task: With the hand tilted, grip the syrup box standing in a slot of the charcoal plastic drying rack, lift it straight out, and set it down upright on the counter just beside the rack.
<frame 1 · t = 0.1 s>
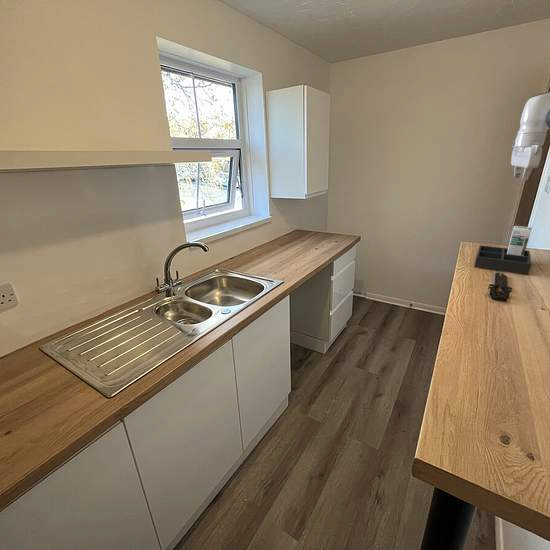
hand: (520, 178, 121), 33 cm above the table, tool pointing down, fingers open, 8 cm apart
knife: (498, 286, 106), on the table
rack: (500, 264, 124), on the table
syrup box: (513, 261, 125), resting on rack
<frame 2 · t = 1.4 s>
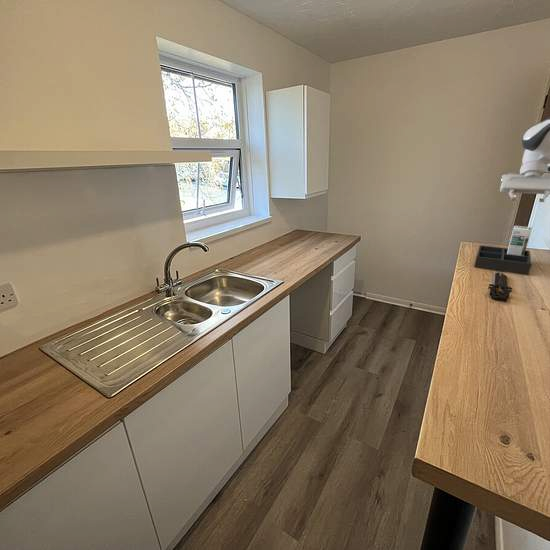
hand: (527, 200, 125), 24 cm above the table, tool tilted 45°, fingers open, 8 cm apart
nothing on the table moved.
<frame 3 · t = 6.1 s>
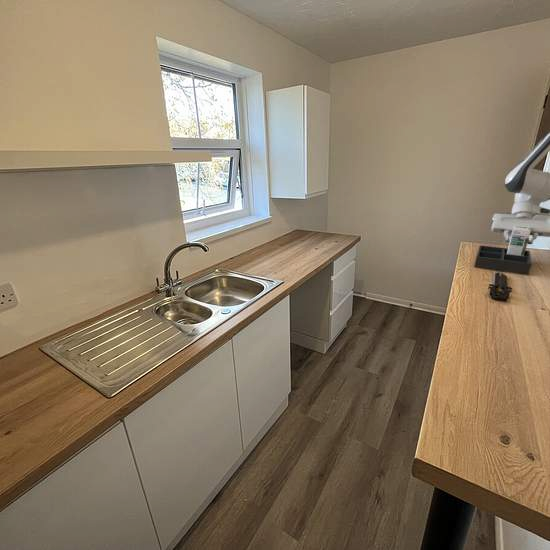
hand: (518, 242, 121), 9 cm above the table, tool tilted 45°, fingers closed on syrup box, 6 cm apart
syrup box: (513, 261, 125), resting on rack, touching gripper
everything else where it was.
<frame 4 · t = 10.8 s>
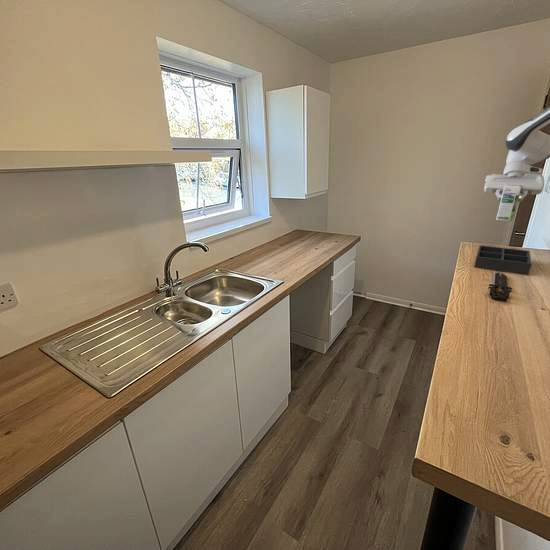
hand: (509, 200, 127), 24 cm above the table, tool tilted 45°, fingers closed on syrup box, 6 cm apart
syrup box: (504, 220, 131), point 15 cm above the table, touching gripper
everything else where it was.
when the fingers open (8 cm above the table, at t = 15.8 s): syrup box stays where it is, on the table.
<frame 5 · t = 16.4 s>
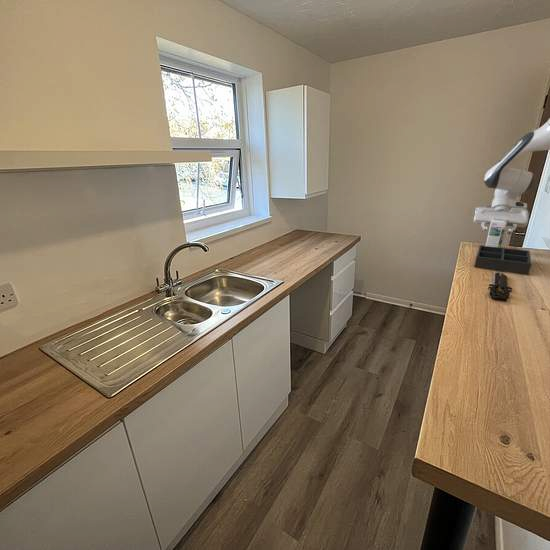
hand: (496, 232, 136), 9 cm above the table, tool tilted 45°, fingers open, 8 cm apart
syrup box: (492, 250, 140), on the table
everything else where it was.
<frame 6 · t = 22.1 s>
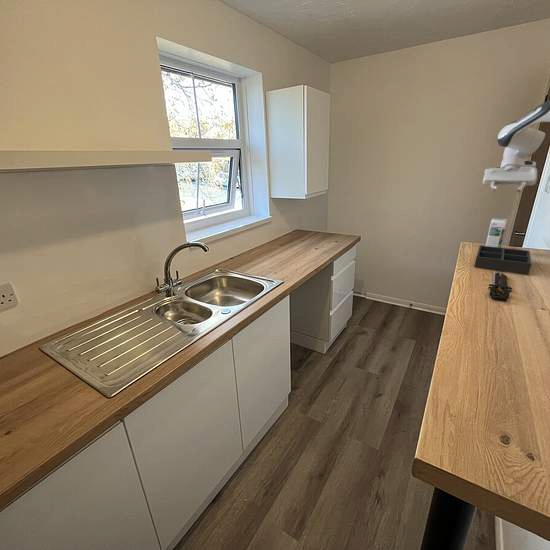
hand: (506, 191, 139), 25 cm above the table, tool tilted 45°, fingers open, 8 cm apart
nothing on the table moved.
at the end: syrup box inside the target area (0.1 cm from its centre), on the table; syrup box tilted 0°; the gripper is holding nothing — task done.
